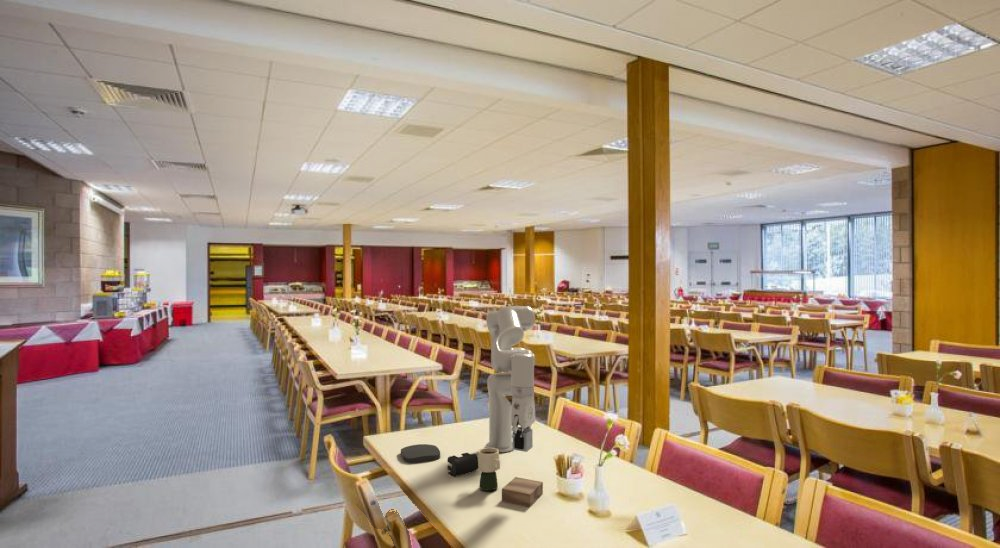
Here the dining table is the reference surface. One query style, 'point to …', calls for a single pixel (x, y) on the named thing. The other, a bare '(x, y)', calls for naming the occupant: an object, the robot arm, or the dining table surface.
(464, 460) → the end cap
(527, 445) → the grey block
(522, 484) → the block
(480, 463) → the character mug
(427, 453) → the media streaming box
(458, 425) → the dining table surface
